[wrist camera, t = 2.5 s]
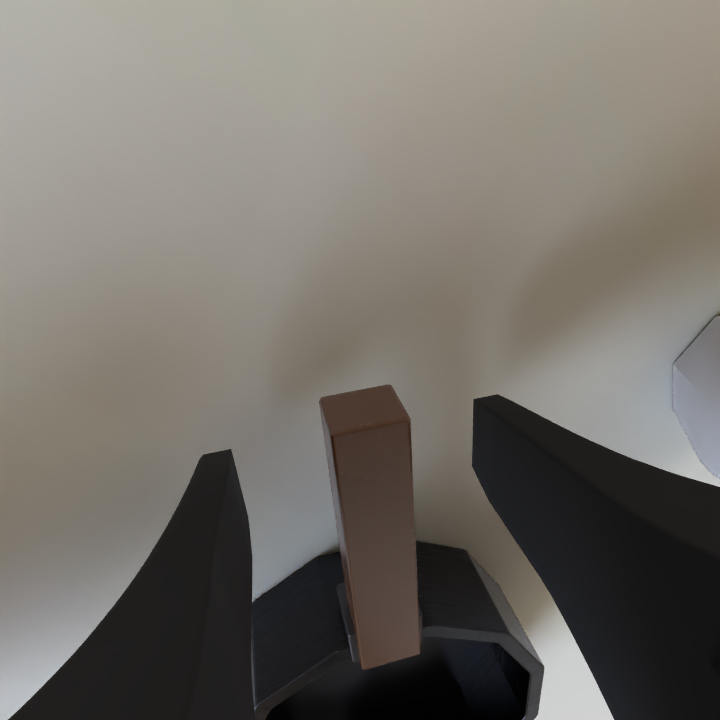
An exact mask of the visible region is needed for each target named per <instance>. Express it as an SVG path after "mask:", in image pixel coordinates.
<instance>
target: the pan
mask: <svg viewBox="0 0 720 720" xmlns="http://www.w3.org/2000/svg"><path fill="white" fill-rule="evenodd" d="M319 404H320V411H321V418H322V425H323V432H324V440H325V447H326V454H327V461H328V468H329V475H330V482H331V489H332V496H333V503H334V510H335V517H336V524H337V531H338V538H339V545H340V552H338V553H334V554H330V555H326V556H322V557H318V558H316V559H314V560H313V561H312V562H310V563H309V564H307V565H306V566H304V567H303V568H302V569H300V570H299V571H297V572H296V573H295V574H293V575H292V576H290V577H289V578H287V579H286V580H285V581H283V582H282V583H280V584H279V585H277V586H276V587H275V588H273V589H272V590H270V591H269V592H268V593H266V594H265V595H263V596H262V597H260V598H259V599H258V600H256V601H255V602H253V603H252V630H251V668H252V687H253V699H254V712H255V720H534V719H535V718H536V716H537V714H538V710H539V703H540V695H541V688H542V681H543V674H544V665H543V664H542V662H541V660H540V658H539V656H538V655H537V653H536V651H535V649H534V648H533V646H532V644H531V642H530V640H529V639H528V637H527V635H526V633H525V631H524V630H523V628H522V626H521V624H520V622H519V621H518V619H517V617H516V615H515V614H514V612H513V610H512V608H511V606H510V605H509V603H508V601H507V599H506V597H505V596H504V594H503V592H502V590H501V588H500V587H499V585H498V584H497V583H496V582H495V581H494V580H493V579H492V578H491V577H490V576H489V574H488V573H487V572H486V571H485V570H484V569H483V568H482V567H481V566H480V565H479V564H478V563H477V562H476V560H475V559H474V558H473V557H472V556H471V555H470V554H469V553H468V552H467V551H466V550H464V549H458V548H453V547H447V546H442V545H436V544H430V543H425V542H419V541H416V536H415V513H414V491H413V468H412V446H411V423H410V417H409V416H408V414H407V412H406V410H405V409H404V407H403V405H402V403H401V402H400V400H399V398H398V396H397V395H396V393H395V391H394V389H393V388H392V386H391V385H383V386H377V387H372V388H367V389H362V390H357V391H352V392H347V393H341V394H336V395H331V396H326V397H322V398H320V401H319Z"/></svg>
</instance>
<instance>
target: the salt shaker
mask: <svg viewBox="0 0 720 720" xmlns="http://www.w3.org/2000/svg"><path fill="white" fill-rule="evenodd" d="M673 411H674V413H675V415H676V416H677V418H678V420H679V422H680V424H681V426H682V428H683V430H684V432H685V434H686V436H687V437H688V439H689V441H690V443H691V445H692V447H693V449H694V451H695V453H696V455H697V457H698V459H699V460H700V462H701V463H702V464H703V465H704V466H705V467H706V468H707V469H708V470H709V472H710V473H711V474H712V475H714V476H716V477H718V478H719V479H720V316H716V317H715V318H714V319H713V320H712V321H711V322H710V323H709V324H708V326H707V327H706V328H705V329H704V330H703V331H702V332H701V333H700V334H699V336H698V337H697V338H696V339H695V340H694V341H693V342H692V343H691V345H690V346H689V347H688V348H687V349H686V350H685V351H684V352H683V354H682V355H681V356H680V357H679V358H678V359H677V360H676V361H675V363H674V364H673Z"/></svg>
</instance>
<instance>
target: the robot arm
mask: <svg viewBox="0 0 720 720" xmlns="http://www.w3.org/2000/svg"><path fill="white" fill-rule="evenodd" d="M472 467H473V469H474V471H475V473H476V475H477V478H478V480H479V482H480V484H481V486H482V488H483V490H484V492H485V494H486V496H487V498H488V500H489V502H490V503H491V505H492V506H493V508H494V509H495V511H496V512H497V514H498V515H499V517H500V518H501V520H502V521H503V523H504V524H505V526H506V527H507V529H508V530H509V532H510V533H511V535H512V536H513V538H514V539H515V541H516V542H517V544H518V545H519V547H520V548H521V550H522V551H523V553H524V554H525V555H526V557H527V558H528V560H529V561H530V563H531V564H532V566H533V567H534V569H535V570H536V572H537V573H538V575H539V576H540V578H541V579H542V581H543V583H544V584H545V586H546V587H547V589H548V591H549V592H550V594H551V596H552V597H553V599H554V601H555V603H556V605H557V607H558V609H559V610H560V612H561V614H562V616H563V618H564V620H565V622H566V623H567V625H568V627H569V629H570V631H571V633H572V635H573V637H574V639H575V641H576V643H577V645H578V646H579V648H580V650H581V652H582V654H583V656H584V658H585V660H586V662H587V664H588V666H589V668H590V670H591V672H592V674H593V676H594V678H595V680H596V682H597V684H598V686H599V688H600V691H601V693H602V695H603V697H604V699H605V701H606V703H607V705H608V707H609V709H610V711H611V714H612V716H613V718H614V720H720V487H717V486H714V485H711V484H707V483H704V482H700V481H697V480H693V479H690V478H686V477H683V476H680V475H677V474H674V473H671V472H668V471H665V470H662V469H659V468H656V467H654V466H651V465H648V464H645V463H643V462H640V461H637V460H634V459H632V458H629V457H627V456H624V455H622V454H619V453H617V452H615V451H612V450H610V449H608V448H605V447H603V446H601V445H599V444H596V443H594V442H592V441H590V440H588V439H585V438H583V437H581V436H579V435H577V434H575V433H573V432H571V431H569V430H567V429H565V428H563V427H561V426H559V425H557V424H555V423H553V422H551V421H549V420H547V419H545V418H543V417H541V416H539V415H538V414H536V413H534V412H532V411H530V410H528V409H526V408H524V407H522V406H520V405H518V404H516V403H514V402H512V401H510V400H508V399H506V398H504V397H502V396H500V395H498V394H497V395H492V396H487V397H482V398H477V399H474V408H473V448H472ZM251 630H252V550H251V540H250V530H249V521H248V515H247V511H246V507H245V503H244V499H243V495H242V491H241V487H240V483H239V479H238V475H237V471H236V467H235V463H234V459H233V455H232V451H231V449H229V450H224V451H219V452H214V453H209V454H204V455H203V456H202V457H201V458H200V460H199V462H198V464H197V467H196V469H195V471H194V474H193V476H192V478H191V480H190V482H189V485H188V487H187V489H186V491H185V493H184V495H183V497H182V499H181V501H180V503H179V505H178V507H177V508H176V510H175V512H174V514H173V516H172V518H171V520H170V522H169V523H168V525H167V527H166V529H165V530H164V532H163V534H162V535H161V537H160V539H159V540H158V542H157V544H156V545H155V547H154V548H153V550H152V552H151V553H150V555H149V557H148V558H147V560H146V561H145V563H144V564H143V566H142V567H141V569H140V570H139V572H138V573H137V575H136V576H135V578H134V579H133V581H132V582H131V583H130V585H129V586H128V587H127V589H126V590H125V592H124V593H123V594H122V596H121V597H120V598H119V600H118V601H117V602H116V604H115V605H114V606H113V607H112V609H111V610H110V611H109V612H108V614H107V615H106V616H105V617H104V619H103V620H102V621H101V622H100V624H99V625H98V626H97V627H96V629H95V630H94V631H93V632H92V633H91V635H90V636H89V637H88V638H87V639H86V640H85V642H84V643H83V644H82V645H81V646H80V647H79V648H78V650H77V651H76V652H75V653H74V654H73V655H72V656H71V657H70V658H69V659H68V660H67V661H66V663H65V664H64V665H63V666H62V667H61V668H60V669H59V670H58V671H57V672H56V673H55V674H54V675H53V676H52V677H51V678H50V679H49V680H48V681H47V682H46V683H45V684H44V685H43V686H42V687H41V689H40V690H39V691H38V692H37V693H36V694H35V695H34V696H33V697H32V698H31V699H30V700H28V701H27V702H26V703H25V704H24V705H23V706H22V707H21V708H20V709H19V710H18V711H17V712H16V713H15V714H14V715H13V716H12V717H11V718H10V719H8V720H255V712H254V699H253V687H252V668H251Z"/></svg>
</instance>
